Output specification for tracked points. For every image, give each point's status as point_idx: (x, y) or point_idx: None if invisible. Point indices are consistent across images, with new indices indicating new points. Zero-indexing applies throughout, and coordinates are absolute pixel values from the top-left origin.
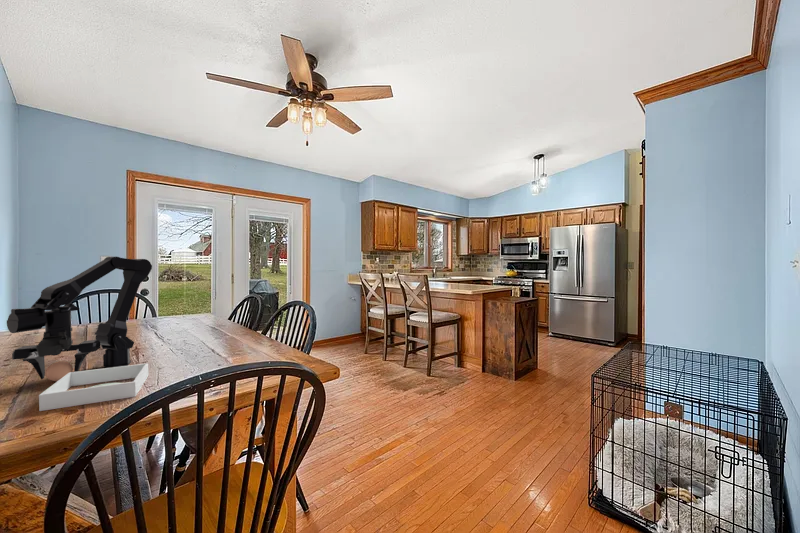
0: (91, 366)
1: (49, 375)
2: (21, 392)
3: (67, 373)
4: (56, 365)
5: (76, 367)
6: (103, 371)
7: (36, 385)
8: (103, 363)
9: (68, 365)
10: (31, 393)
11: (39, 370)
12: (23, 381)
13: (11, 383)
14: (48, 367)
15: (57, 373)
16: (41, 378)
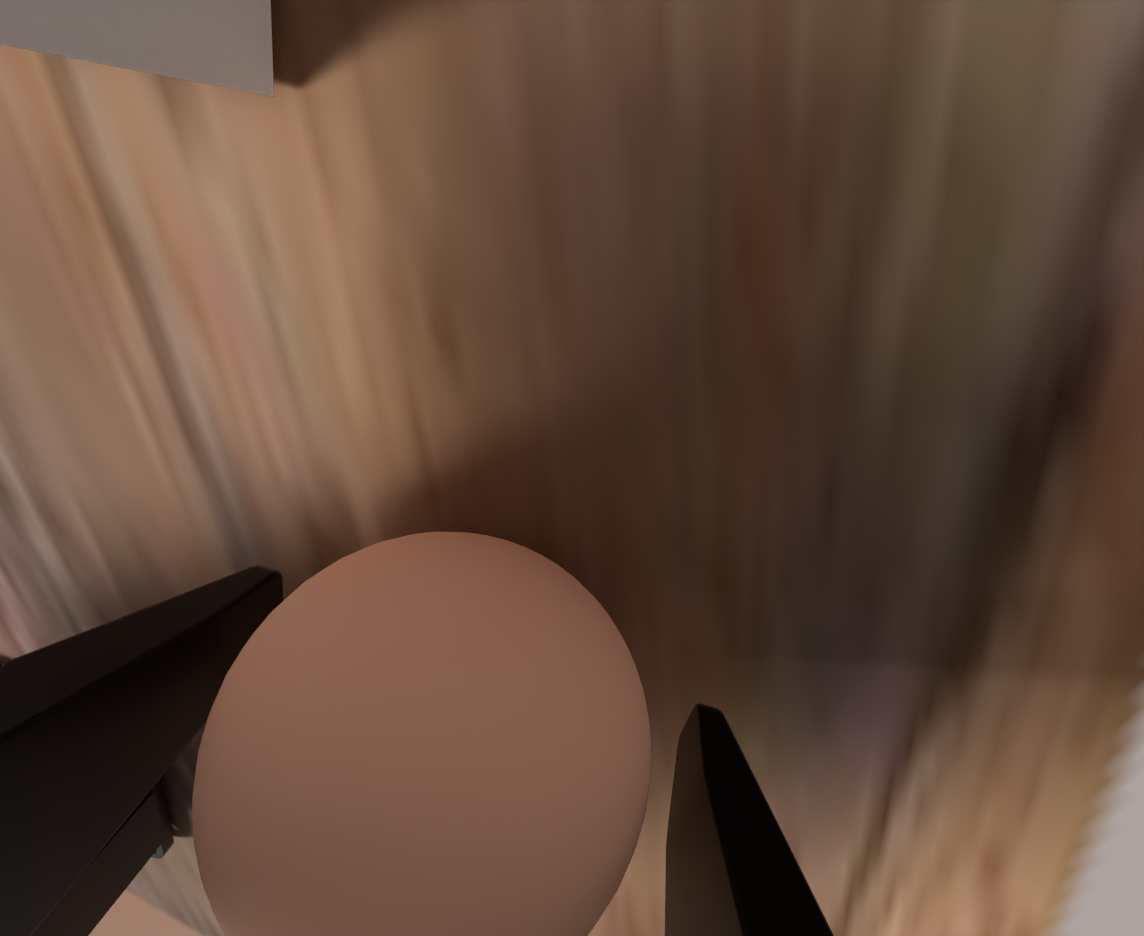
0: None
1: (582, 619)
2: (1031, 337)
3: (316, 575)
4: (372, 824)
5: (115, 639)
6: None
7: (774, 615)
8: (125, 823)
9: (198, 751)
10: (899, 67)
11: (757, 879)
12: (886, 892)
13: (1008, 913)
14: (576, 875)
15: (430, 577)
16: (715, 710)
